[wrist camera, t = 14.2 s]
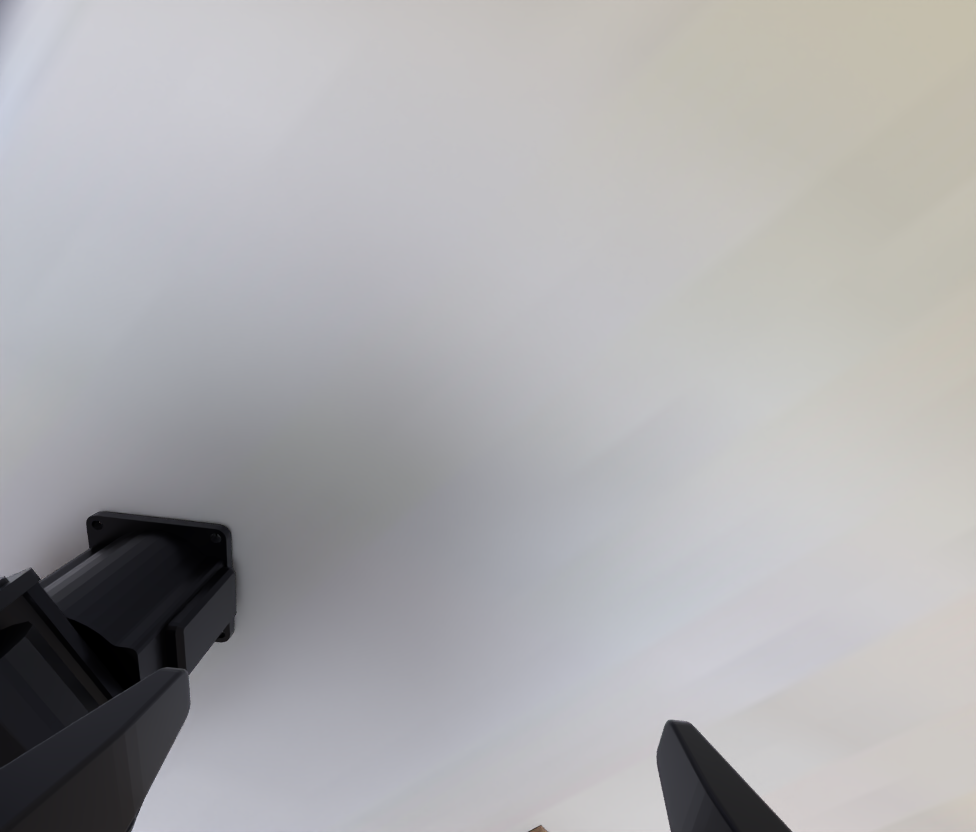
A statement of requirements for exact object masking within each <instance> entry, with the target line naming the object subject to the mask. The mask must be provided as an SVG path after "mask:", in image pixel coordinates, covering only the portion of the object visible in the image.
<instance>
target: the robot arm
mask: <svg viewBox="0 0 976 832" xmlns="http://www.w3.org/2000/svg"><path fill="white" fill-rule="evenodd" d="M99 521H100V522H101V523H102V525H101V524H100V523H99ZM86 526H87V533H88V541H89V548H90V549H88V550H87V551H85V552H84V553H82V554H81V555H79V556H78V557H76V558H75V559H73V560H71V561H70V562H68V563H67V564H65V565H64V566H62V567H61V568H59V569H58V570H56V571H55V572H53V573H52V574H50V575H49V576H47V577H46V578H44V579H43V580H41V579H40V578H39V577H38V575H37V574H36V573H35V572H34V570H33V569H32V568H29V569H26V570H24V571H22V572H19V573H17V574H14V575H12V576H9V577H7V578H6V577H5V576H4V577H0V832H131V831H132V829H133V826H134V823H135V820H136V818H137V815H138V813H139V811H140V808H141V806H142V803H143V801H144V799H145V797H146V795H147V793H148V791H149V789H150V787H151V785H152V783H153V781H154V779H155V778H156V776H157V774H158V772H159V770H160V768H161V766H162V764H163V762H164V760H165V758H166V756H167V754H168V752H169V751H170V749H171V747H172V745H173V743H174V741H175V739H176V737H177V735H178V733H179V731H180V729H181V727H182V726H183V724H184V722H185V720H186V718H187V715H188V713H189V709H190V688H189V674H190V673H191V672H192V670H193V669H194V668H195V666H196V665H197V664H198V663H199V661H200V660H201V659H202V657H203V656H204V655H205V653H206V652H207V651H208V650H209V648H210V647H211V646H212V644H213V643H214V642H226V641H228V639H229V638H230V637H231V635H232V634H233V633H234V616H235V615H236V584H235V572H234V570H233V568H232V551H231V533H230V531H229V529H228V528H227V527H225V526H223V525H218V524H209V523H201V522H192V521H183V520H174V519H165V518H156V517H147V516H138V515H129V514H120V513H111V512H98V513H96V514H94V515H92V516H90V517H89V518H88V519H87V522H86ZM215 534H218V535H219V536H220V537H221V539H220V538H218V537H217V536H216V535H215ZM40 580H41V581H40ZM39 581H40V582H39ZM222 631H223V632H222ZM657 767H658V772H659V777H660V782H661V786H662V791H663V796H664V801H665V806H666V810H667V815H668V820H669V825H670V830H671V832H792V831H791V830H790V829H789V828H788V827H787V825H786V824H785V823H784V822H783V821H782V820H781V819H780V818H779V817H778V816H777V815H776V814H775V813H774V812H773V810H772V809H771V808H770V807H769V806H768V805H767V804H766V803H765V802H764V801H763V800H762V799H761V798H760V797H759V795H758V794H757V793H756V792H755V791H754V790H753V789H752V788H751V787H750V786H749V785H748V784H747V783H746V782H745V780H744V779H743V778H742V777H741V776H740V775H739V774H738V773H737V772H736V771H735V770H734V769H733V768H732V766H731V765H730V764H729V763H728V762H727V761H726V760H725V759H724V758H723V757H722V756H721V755H720V754H719V753H718V751H717V750H716V749H715V748H714V747H713V746H712V745H711V744H710V743H709V742H708V741H707V740H706V739H705V738H704V736H703V735H702V734H701V733H700V732H699V731H698V730H697V729H696V728H695V727H694V726H693V725H692V724H691V723H689V722H687V721H679V720H668V721H667V722H666V724H665V726H664V729H663V733H662V736H661V739H660V743H659V746H658V749H657Z"/></svg>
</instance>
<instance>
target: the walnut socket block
mask: <svg viewBox="0 0 976 832" xmlns="http://www.w3.org/2000/svg"><path fill="white" fill-rule="evenodd" d="M530 832H547V831H546V830H545V829H544V828H543V827H542V826H540V827H538V828H536V829H534V830H532V831H530Z"/></svg>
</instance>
